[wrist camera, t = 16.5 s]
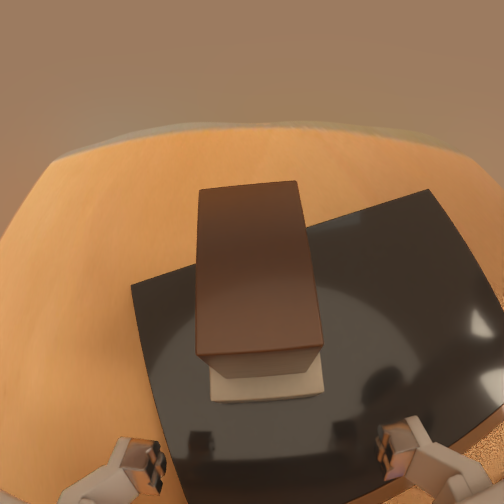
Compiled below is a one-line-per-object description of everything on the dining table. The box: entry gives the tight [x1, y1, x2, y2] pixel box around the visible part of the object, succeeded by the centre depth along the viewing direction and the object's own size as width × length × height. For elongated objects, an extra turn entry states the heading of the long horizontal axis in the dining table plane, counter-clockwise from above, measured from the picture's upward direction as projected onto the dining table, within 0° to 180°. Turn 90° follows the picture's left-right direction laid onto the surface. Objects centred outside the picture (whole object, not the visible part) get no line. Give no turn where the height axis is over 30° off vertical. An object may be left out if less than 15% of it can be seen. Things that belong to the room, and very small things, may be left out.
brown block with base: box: [195, 181, 324, 404], centre depth 13 cm, size 8×5×8 cm, turn 3°
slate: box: [131, 189, 504, 504], centre depth 16 cm, size 22×17×1 cm
